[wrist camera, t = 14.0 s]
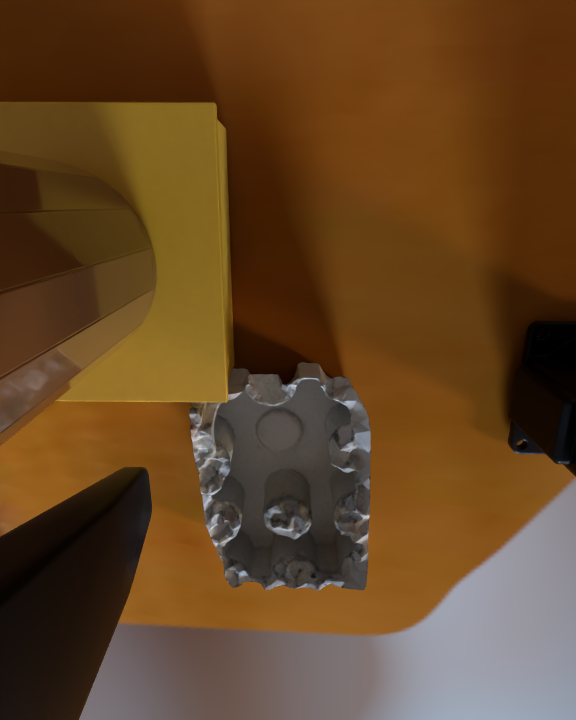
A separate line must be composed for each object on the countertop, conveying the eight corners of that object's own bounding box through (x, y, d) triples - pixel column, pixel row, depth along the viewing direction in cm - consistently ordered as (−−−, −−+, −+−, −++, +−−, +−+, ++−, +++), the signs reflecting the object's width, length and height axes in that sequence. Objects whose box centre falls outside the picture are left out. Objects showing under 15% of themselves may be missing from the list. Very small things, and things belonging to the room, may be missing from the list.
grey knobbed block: (200, 361, 22) (180, 394, 18) (360, 355, 22) (375, 387, 18) (220, 548, 25) (207, 611, 21) (360, 544, 25) (372, 607, 21)
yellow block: (231, 122, 18) (214, 101, 15) (238, 368, 22) (227, 402, 18) (-53, 122, 19) (-141, 101, 15) (-2, 366, 22) (-64, 400, 18)
